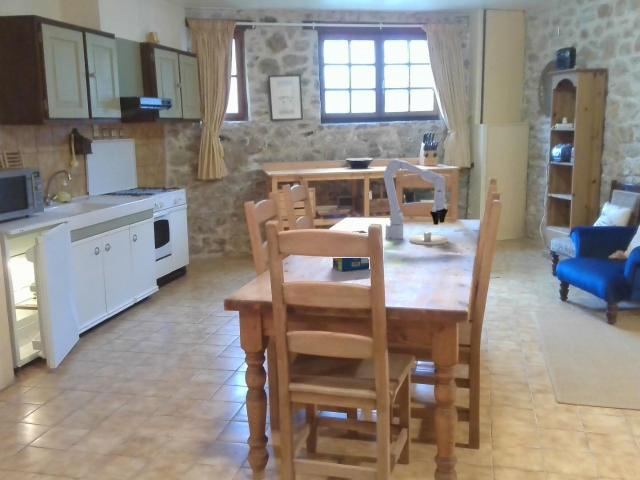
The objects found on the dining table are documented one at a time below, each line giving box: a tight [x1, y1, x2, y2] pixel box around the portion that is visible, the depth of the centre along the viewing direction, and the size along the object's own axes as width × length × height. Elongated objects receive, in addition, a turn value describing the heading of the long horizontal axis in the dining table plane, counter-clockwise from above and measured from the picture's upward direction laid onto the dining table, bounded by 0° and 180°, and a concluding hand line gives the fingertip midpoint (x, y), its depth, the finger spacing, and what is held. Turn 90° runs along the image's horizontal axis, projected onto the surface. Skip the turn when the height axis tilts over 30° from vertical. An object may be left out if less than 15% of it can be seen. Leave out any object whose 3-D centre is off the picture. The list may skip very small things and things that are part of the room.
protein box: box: [332, 230, 369, 272], centre depth 269 cm, size 10×15×16 cm
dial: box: [408, 231, 449, 246], centre depth 321 cm, size 20×20×6 cm
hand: (438, 223), depth 326 cm, fingers open, 7 cm apart
